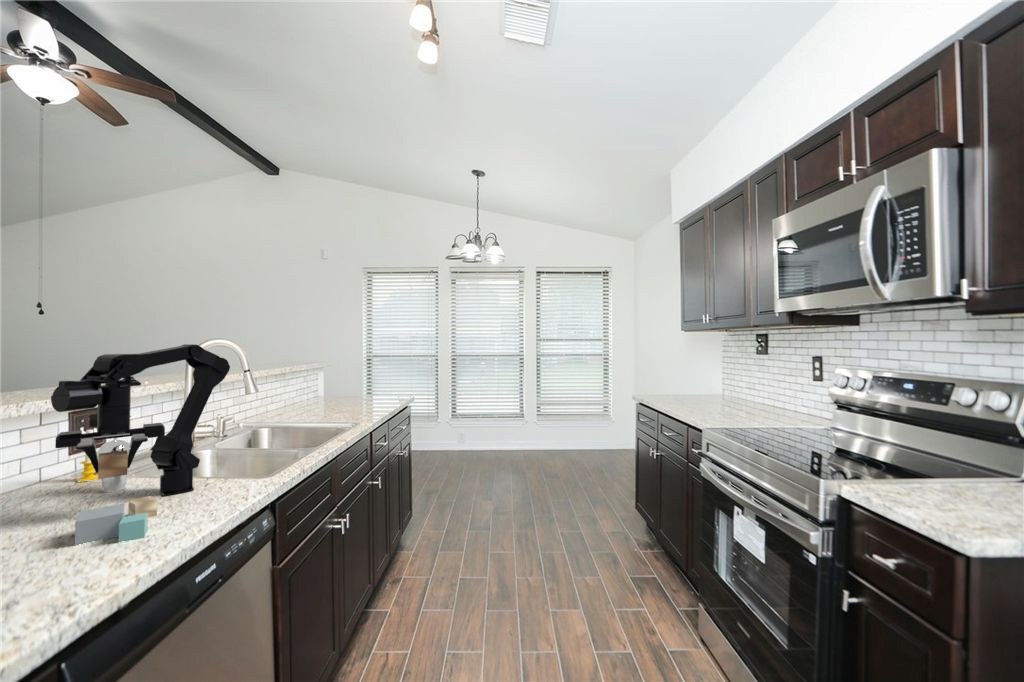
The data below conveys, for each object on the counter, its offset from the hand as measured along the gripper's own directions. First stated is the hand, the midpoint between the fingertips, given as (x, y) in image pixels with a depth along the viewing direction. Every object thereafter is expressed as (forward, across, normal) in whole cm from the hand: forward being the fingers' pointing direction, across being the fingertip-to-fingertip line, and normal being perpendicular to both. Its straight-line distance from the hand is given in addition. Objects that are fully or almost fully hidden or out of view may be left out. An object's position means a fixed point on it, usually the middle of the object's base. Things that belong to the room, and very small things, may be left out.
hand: (113, 470), depth 100 cm
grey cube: (+11, +2, +14) cm, 18 cm away
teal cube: (+10, -3, +20) cm, 23 cm away
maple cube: (+10, -5, +8) cm, 14 cm away
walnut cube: (+1, 0, 0) cm, 1 cm away
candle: (+10, +5, -38) cm, 40 cm away
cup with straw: (+10, -1, -21) cm, 24 cm away
